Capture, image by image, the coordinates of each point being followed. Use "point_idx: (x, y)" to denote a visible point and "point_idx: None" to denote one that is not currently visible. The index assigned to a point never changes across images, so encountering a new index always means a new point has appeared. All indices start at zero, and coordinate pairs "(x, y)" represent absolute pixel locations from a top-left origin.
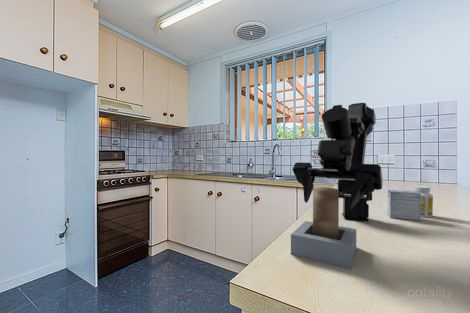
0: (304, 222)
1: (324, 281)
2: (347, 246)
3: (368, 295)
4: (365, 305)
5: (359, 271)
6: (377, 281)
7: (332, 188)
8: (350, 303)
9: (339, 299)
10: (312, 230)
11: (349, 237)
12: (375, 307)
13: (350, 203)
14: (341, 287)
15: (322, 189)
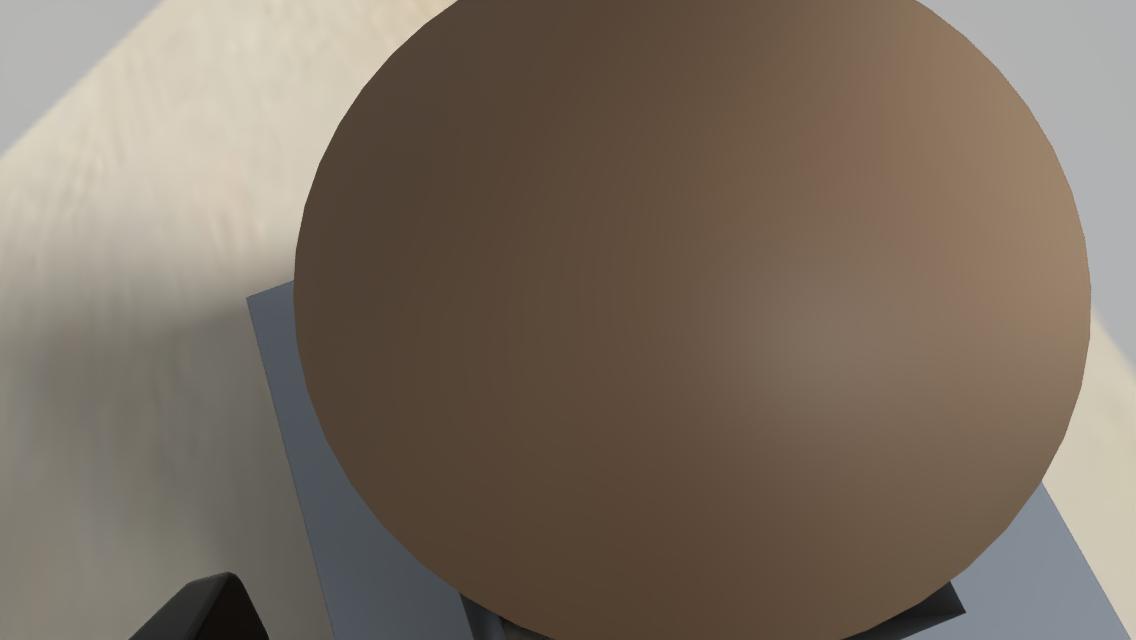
0: (1103, 605)
1: None
2: (283, 290)
3: (136, 150)
4: (127, 61)
5: (263, 380)
6: (130, 344)
7: (634, 585)
8: (188, 19)
9: (240, 5)
10: (928, 617)
11: (356, 531)
12: (85, 84)
13: (181, 599)
14: (276, 103)
15: (697, 119)
